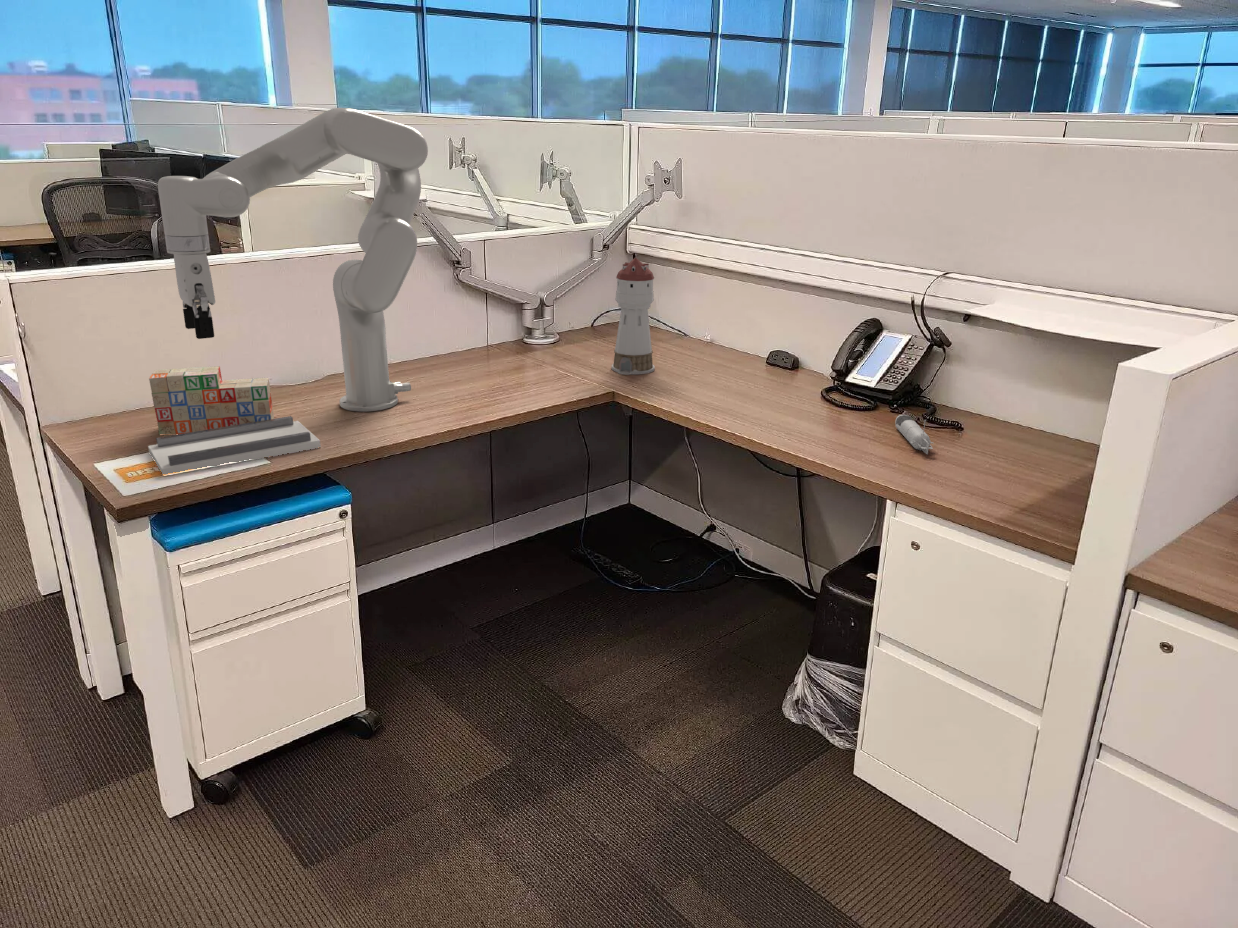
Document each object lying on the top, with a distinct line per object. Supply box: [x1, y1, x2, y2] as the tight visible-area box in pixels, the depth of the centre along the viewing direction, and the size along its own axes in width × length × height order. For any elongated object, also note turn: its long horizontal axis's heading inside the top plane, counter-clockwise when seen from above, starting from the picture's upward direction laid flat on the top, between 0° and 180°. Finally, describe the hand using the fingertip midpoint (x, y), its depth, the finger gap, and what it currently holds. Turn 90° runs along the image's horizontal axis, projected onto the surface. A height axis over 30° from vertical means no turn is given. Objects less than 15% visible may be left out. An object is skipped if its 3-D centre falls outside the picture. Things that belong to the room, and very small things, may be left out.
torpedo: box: [894, 414, 934, 455], centre depth 183 cm, size 18×5×7 cm, turn 0°
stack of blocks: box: [148, 365, 275, 435], centre depth 182 cm, size 21×6×12 cm, turn 106°
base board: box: [147, 415, 322, 475], centre depth 171 cm, size 28×14×3 cm, turn 125°
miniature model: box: [611, 253, 656, 376], centre depth 226 cm, size 11×12×30 cm
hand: (199, 332), depth 176 cm, fingers open, 9 cm apart
